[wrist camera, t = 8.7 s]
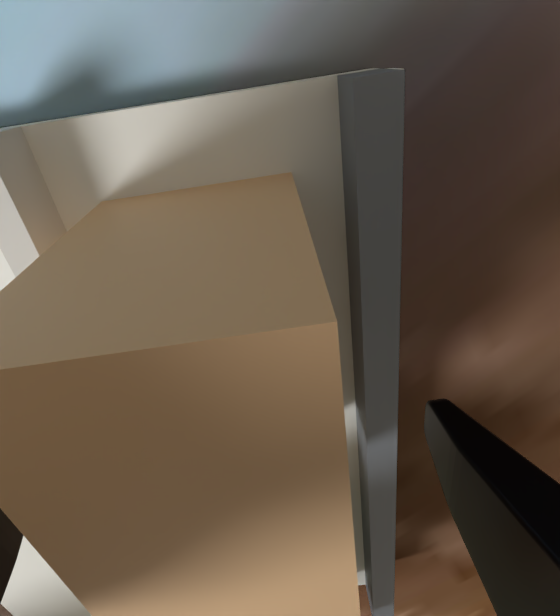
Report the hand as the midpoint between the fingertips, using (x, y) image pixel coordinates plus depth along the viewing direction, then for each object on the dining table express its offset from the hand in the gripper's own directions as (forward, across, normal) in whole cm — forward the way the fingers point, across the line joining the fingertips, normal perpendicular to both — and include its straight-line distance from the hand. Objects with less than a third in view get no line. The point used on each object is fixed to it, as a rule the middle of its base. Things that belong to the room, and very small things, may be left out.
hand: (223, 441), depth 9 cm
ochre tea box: (+4, 0, 0) cm, 5 cm away
